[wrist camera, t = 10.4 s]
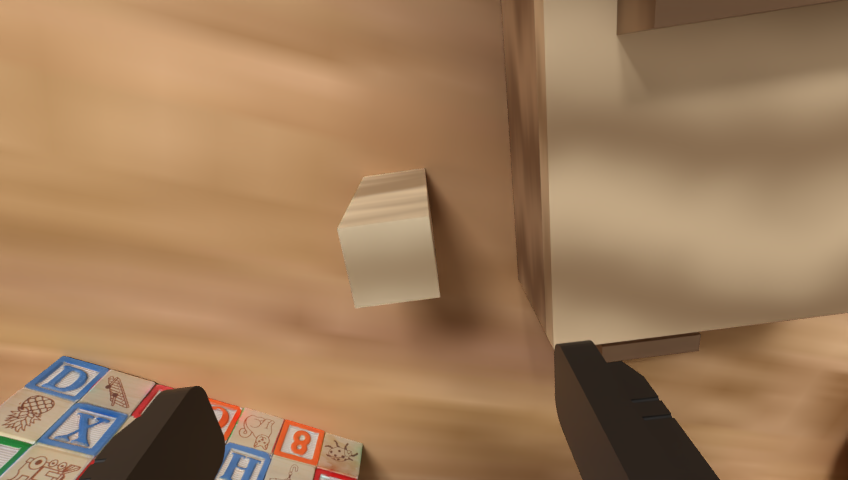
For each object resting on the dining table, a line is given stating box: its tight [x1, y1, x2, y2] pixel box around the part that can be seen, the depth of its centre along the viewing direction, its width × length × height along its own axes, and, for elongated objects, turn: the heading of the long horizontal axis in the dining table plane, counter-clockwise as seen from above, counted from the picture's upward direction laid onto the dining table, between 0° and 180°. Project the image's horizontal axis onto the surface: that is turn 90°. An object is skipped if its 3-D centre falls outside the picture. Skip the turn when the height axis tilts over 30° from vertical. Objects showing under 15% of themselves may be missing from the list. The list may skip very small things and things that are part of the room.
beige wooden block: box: [337, 168, 440, 308], centre depth 20 cm, size 4×4×8 cm
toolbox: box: [501, 0, 701, 362], centre depth 21 cm, size 24×15×6 cm, turn 8°
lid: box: [534, 0, 848, 349], centre depth 15 cm, size 18×15×4 cm
